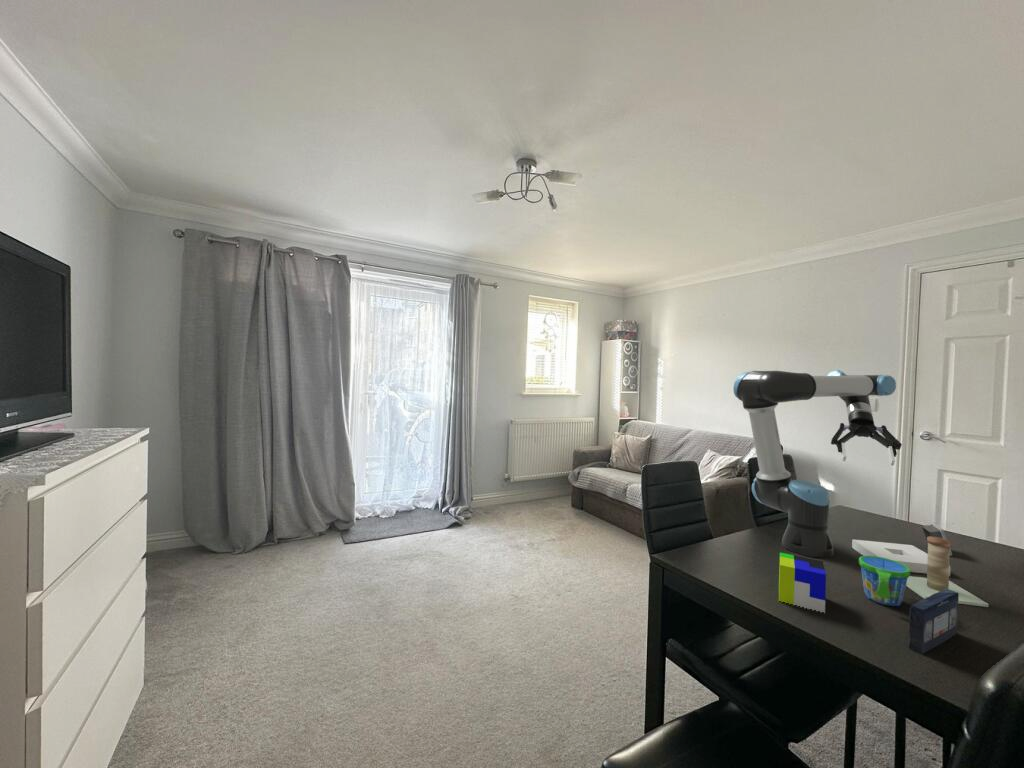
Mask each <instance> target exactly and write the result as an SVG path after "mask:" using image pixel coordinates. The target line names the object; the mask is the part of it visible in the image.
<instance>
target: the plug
mask: <svg viewBox="0 0 1024 768" xmlns="http://www.w3.org/2000/svg"><path fill="white" fill-rule="evenodd" d="M926 542H928V543H927V554H928V562H927V574H926V578H927V586H928V587H929V588H931V589H934V590H937V591H942V590H944V589H948V590H949V581H950V576H949V566H950V556H949V553H950V549H951V546H952V544H951V543H952V541H951V540H949V539H943V538H939V537H931V536H929V537H927V540H926Z"/></svg>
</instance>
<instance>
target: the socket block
mask: <svg viewBox="0 0 1024 768" xmlns="http://www.w3.org/2000/svg"><path fill="white" fill-rule="evenodd" d="M851 541H852V542H851V549H854V550H855V551H856V552H858V553H859V554H861V556H877V557H882V558H887V559H890V560H894V561H897V562H899V563H902V564H904V565H905V566H907V567H908V568H909V569H910V573H918V574H926V575H927V562H928V552H925V551H923V550H922V549H919V548H918V547H916V546H915V545H912V544H903V543H895V542H883V541H874V540H863V539H852V540H851ZM949 577H951V566H950V565H949Z"/></svg>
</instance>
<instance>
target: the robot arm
mask: <svg viewBox="0 0 1024 768" xmlns="http://www.w3.org/2000/svg"><path fill="white" fill-rule="evenodd" d="M896 389H897V381H896V379H895V378H894V377H893V376H891V375H888V374H887V375H886V374H885V375H884V374H873V375H872V374H871V375H870V374H869V375H868V374H867V375H866V374H861V375H860V374H859V375H858V374H856V375H855V374H851V375H850V374H849V375H848V374H846V373H845V372H844V371H842V370H838V369H835V370H832V371H830V372H828V373H827V374H826V375H812V374H810V373H807V372H806V373H805V372H801V373H800V372H792V371H786V370H785V371H783V370H751V371H745V372H742V373H741V374H739V375H738V377H737V378H736V379H735V381H734V383H733V394H734V396H735V398H737V399H738V400H739V401H741V403H742V406H743V409H744V410H745V411H747V412H748V416H749V420H750V425H751V431H752V436H753V441H754V449H755V452H756V453H755V454H756V459H757V465H758V469H759V470H758V471H757V473H756V474H755V478H754V479H753V482H752V484H751V492H752V495H753V497H754V498H755V500H756V501H757V502H759V504H762V505H764V506H766V507H768V508H770V509H771V508H772V509H775V510H778V511H781V512H783V513H785V514H788V515H787V516H788V517H787V519H788V522H787V526H786V529H785V531H784V533H783V535H782V538H781V545H782V547H783V548H785V549H786V550H788V551H790V552H793V553H796V554H798V555H803V556H807V557H813V558H821V559H822V558H824V559H825V558H831V557H834V551H835V550H834V545H833V541H832V539H831V537H830V534H829V517H830V515H829V513H830V494H829V491H828V489H827V488H826V487H825V486H823V485H821V484H819V483H816V482H813V481H807V480H804V479H803V480H802V479H792V474H791V472H790V471H788V470H787V469H786V467H785V461H784V456H783V451H782V444H781V439H780V433H779V428H778V423H777V418H776V417H777V416H776V411H775V409H776V408H777V406H778V405H779V403H787V402H788V403H789V402H796V401H808V400H811V399H812V398H814V397H815V398H817V397H818V398H822V397H823V398H824V397H825V398H826V397H839V398H840V400H842V401H844V403H845V405H846V413H847V418H848V419H847V420H848V424H845V423H843V422H840V423H839V427H838V429H837V431H836V433H835V434H834V435H833V436H832V438H831V439H830V445H836V448H837V452H838V453H841V460H842V462H846V459H847V453H846V451H847V450H846V446H845V443H846V442H848V441H849V440H850V439H852V438H854V437H858V438H859V437H860V438H861V437H863V438H870V439H873V440H875V441H876V442H878V443H880V445H882V446H884V447H885V448H887V456H888V461H889V465H890V466H895V465H894V464H895V462H896V459H895V458H896V457H897V455H898V452H897V451H899V450H901V448H902V443H901V441H900V440H898V439H897V438H896V437H895V436H894V435H893V434H892V433H891V432H890V431H889V430H888V428H887V426H886V425H881V426H876V425H875V421H874V416H873V411H872V406H871V402H870V398H869V397H870V396H877V397H878V396H879V397H883V396H886V397H887V396H891V395H892V394H894V393H895V392H896ZM846 430H848V431H849V432H848V433H846V434H844V435H843V436H842V434H843V432H845V431H846ZM841 436H842V437H841ZM840 437H841V438H840ZM839 438H840V439H839Z"/></svg>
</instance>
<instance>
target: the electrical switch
mask: <svg viewBox="0 0 1024 768" xmlns="http://www.w3.org/2000/svg"><path fill="white" fill-rule="evenodd" d="M921 528H922V531H923V534H924V537H925V540H926V542H927V537H929V536H931V537H939V538H943V539H947V535H946V533H945V530H944V529H943V527H941V526H939V525H938V524H936V523H934V522H930V524H928V525H921ZM947 540H948V539H947ZM927 544H928V542H927ZM950 556H953V552H952V549H951V548H950V553H949V557H950Z"/></svg>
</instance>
